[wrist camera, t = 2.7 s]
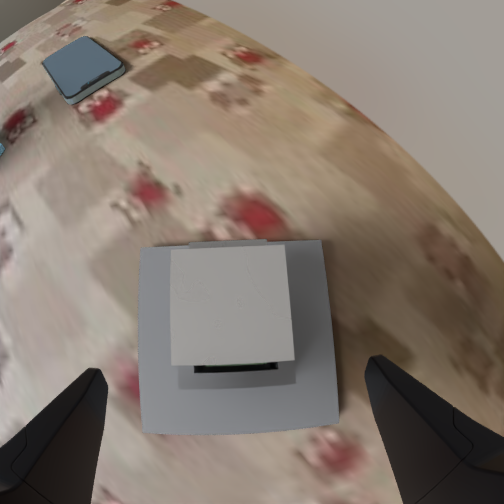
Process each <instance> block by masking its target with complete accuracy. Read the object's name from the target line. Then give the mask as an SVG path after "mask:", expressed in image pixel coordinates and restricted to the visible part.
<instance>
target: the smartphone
mask: <svg viewBox="0 0 504 504" xmlns="http://www.w3.org/2000/svg"><path fill="white" fill-rule="evenodd" d="M42 65H43V67H44V69H45V70H46V72H47V73H48V75H49V76H50V78H51V79H52V81H53V82H54V84H55V87H56V88H57V90H58V91H59V93H60V94H61V95H62V96H63V97H64V99H65V100H66V102H67V103H68V104H75V103H78V102H79V101H81V100H82V99H84V98H85V97H87V96H88V95H90V94H91V93H93V92H94V91H96V90H98V89H99V88H101V87H102V86H104V85H106V84H107V83H109V82H111V81H112V80H114V79H116V78H118V77H119V76H121V75H122V74H123V73H124V72H125V67H124V64H123V62H121V61H120V60H119V59H117V58H116V57H115V56H113V55H112V54H111V53H109V52H108V51H107V50H105V49H104V48H103V47H101V46H100V45H99V44H97V43H96V42H95V41H93V40H92V39H91V38H89V37H88V36H83V37H80V38H79V39H77V40H75V41H73V42H72V43H70V44H68V45H66V46H65V47H63V48H62V49H60V50H58V51H57V52H55V53H54V54H52V55H50V56H49V57H47V58H46V59H45V60H44V61H43V63H42Z"/></svg>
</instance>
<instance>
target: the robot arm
mask: <svg viewBox="0 0 504 504" xmlns="http://www.w3.org/2000/svg"><path fill="white" fill-rule="evenodd" d="M365 382H366V386H367V390H368V394H369V398H370V402H371V407H372V411H373V415H374V418H375V421H376V424H377V426H378V429H379V432H380V435H381V438H382V441H383V443H384V446H385V449H386V452H387V455H388V458H389V461H390V464H391V467H392V470H393V473H394V476H395V479H396V482H397V485H398V488H399V492H400V495H401V498H402V501H403V504H504V437H502V436H501V435H499V434H497V433H495V432H493V431H492V430H490V429H488V428H486V427H485V426H483V425H481V424H479V423H478V422H476V421H474V420H473V419H471V418H470V417H468V416H467V415H465V414H464V413H462V412H461V411H459V410H458V409H457V408H455V407H453V406H452V405H451V404H450V403H448V402H447V401H445V400H444V399H443V398H441V397H440V396H438V395H437V394H436V393H434V392H433V391H432V390H430V389H429V388H427V387H426V386H425V385H423V384H422V383H420V382H419V381H418V380H416V379H415V378H414V377H412V376H411V375H409V374H408V373H407V372H405V371H404V370H403V369H401V368H400V367H398V366H397V365H396V364H394V363H393V362H391V361H390V360H389V359H387V358H386V357H385V356H383V355H374V356H371V357H370V358H369V360H368V363H367V367H366V370H365ZM107 396H108V385H107V382H106V380H105V378H104V376H103V374H102V371H101V370H100V369H98V368H88V369H87V370H86V371H84V372H83V373H82V374H81V375H80V376H79V377H78V378H77V379H76V380H75V381H73V382H72V383H71V384H70V385H69V386H68V387H67V388H66V389H65V390H64V391H62V392H61V393H60V394H59V395H58V396H57V397H56V398H55V399H54V400H53V401H52V402H51V403H49V404H48V405H47V406H46V407H45V408H44V409H43V410H42V411H41V412H40V413H39V414H38V415H36V416H35V417H34V418H33V419H32V420H31V421H30V422H29V423H28V424H27V425H26V427H24V428H22V429H21V430H20V431H19V432H18V433H17V434H16V435H15V436H14V437H13V438H11V439H10V440H9V441H8V442H7V443H5V444H4V445H3V446H2V447H1V448H0V504H91V498H92V491H93V485H94V479H95V473H96V467H97V461H98V456H99V451H100V446H101V441H102V436H103V431H104V424H105V414H106V405H107Z"/></svg>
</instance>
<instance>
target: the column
mask: <svg viewBox="0 0 504 504" xmlns="http://www.w3.org/2000/svg"><path fill="white" fill-rule="evenodd" d="M170 335H171V365H206V367H212V366H239V365H257V364H267V362H278V361H290V360H295V358H294V345H293V332H292V320H291V309H290V298H289V287H288V276H287V266H286V256H285V246H284V245H267V239H257V240H233V241H210V242H189V249H176V250H171V264H170Z"/></svg>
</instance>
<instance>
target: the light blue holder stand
mask: <svg viewBox="0 0 504 504" xmlns="http://www.w3.org/2000/svg"><path fill="white" fill-rule="evenodd" d="M4 150H5V148H4V147H3V145H2V144H1V143H0V155H1V154H2V153H3V152H4Z"/></svg>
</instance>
